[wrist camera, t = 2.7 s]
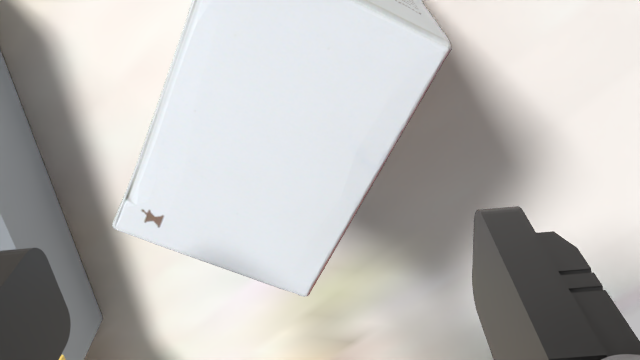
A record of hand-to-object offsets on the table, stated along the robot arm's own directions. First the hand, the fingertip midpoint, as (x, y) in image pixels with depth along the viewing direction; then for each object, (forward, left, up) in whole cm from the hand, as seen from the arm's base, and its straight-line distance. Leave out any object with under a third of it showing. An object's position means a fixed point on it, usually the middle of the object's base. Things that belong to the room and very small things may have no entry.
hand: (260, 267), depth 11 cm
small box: (-1, 0, -14) cm, 14 cm away
